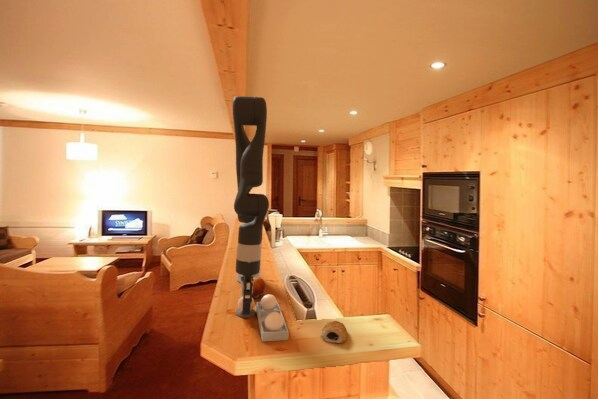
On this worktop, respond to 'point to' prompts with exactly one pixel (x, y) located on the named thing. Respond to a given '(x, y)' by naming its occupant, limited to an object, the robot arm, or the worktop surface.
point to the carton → (264, 332)
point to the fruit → (258, 287)
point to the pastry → (334, 332)
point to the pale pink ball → (240, 303)
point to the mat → (245, 315)
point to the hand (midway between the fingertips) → (245, 307)
